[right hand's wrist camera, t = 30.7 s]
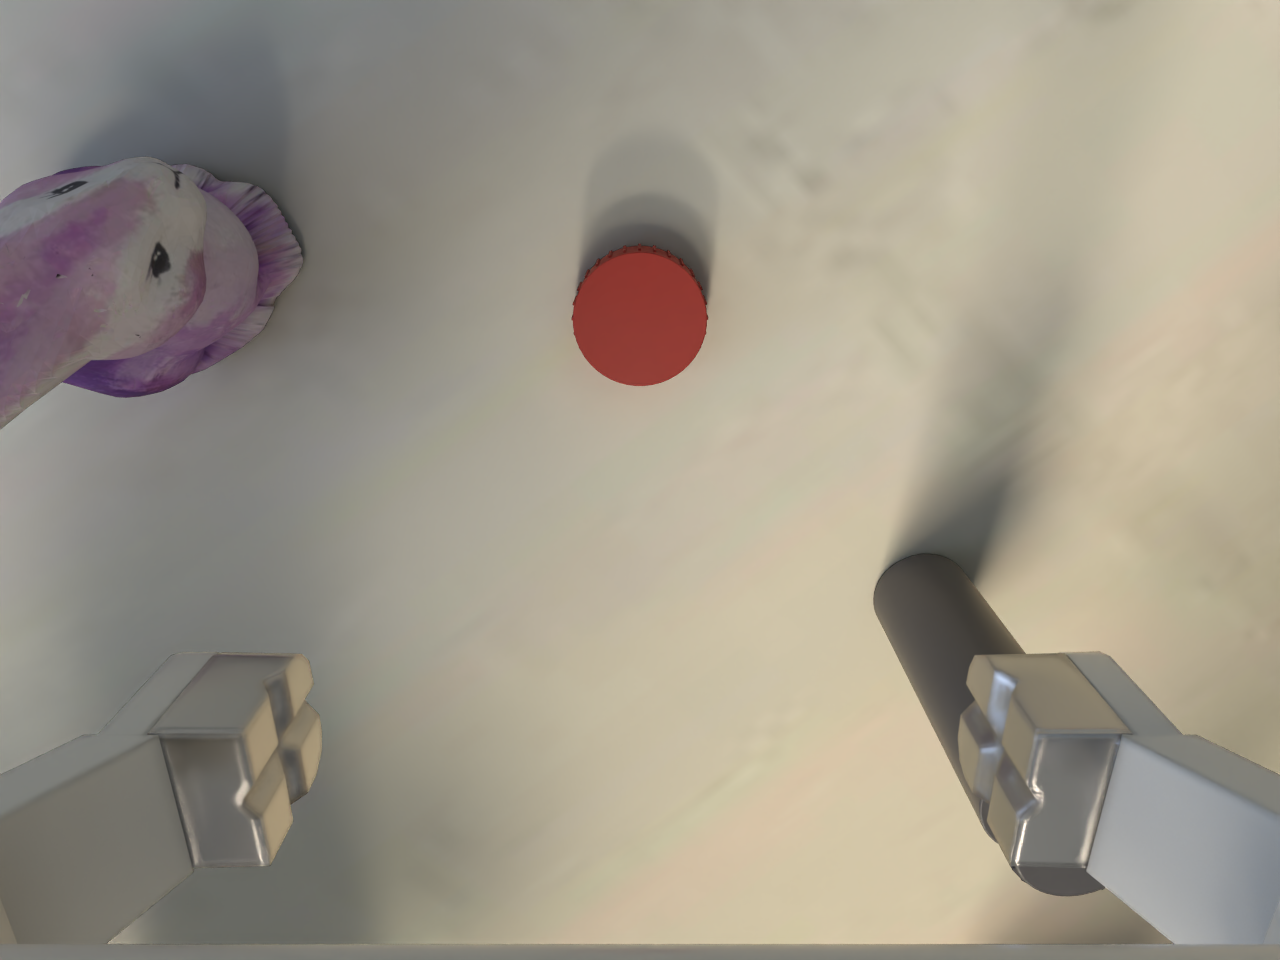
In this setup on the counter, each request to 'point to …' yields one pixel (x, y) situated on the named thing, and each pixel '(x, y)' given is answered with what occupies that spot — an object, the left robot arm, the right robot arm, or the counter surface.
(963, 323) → the counter surface
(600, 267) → the lid
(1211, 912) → the right robot arm
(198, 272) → the figurine
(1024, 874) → the cylinder
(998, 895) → the counter surface
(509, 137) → the counter surface
